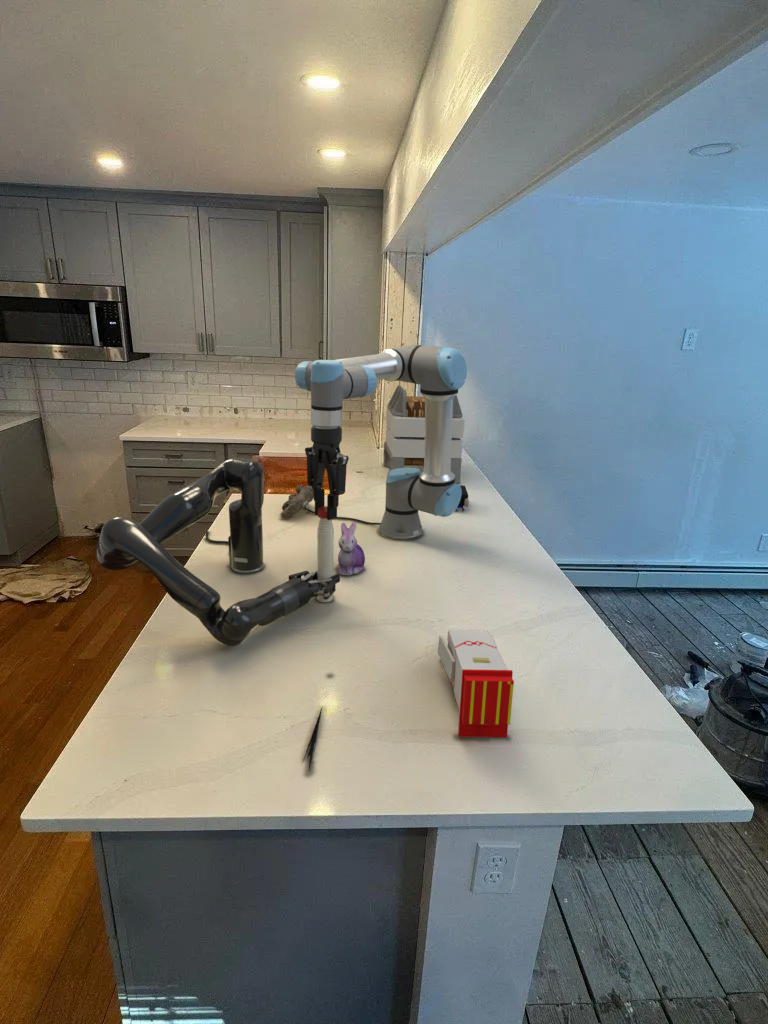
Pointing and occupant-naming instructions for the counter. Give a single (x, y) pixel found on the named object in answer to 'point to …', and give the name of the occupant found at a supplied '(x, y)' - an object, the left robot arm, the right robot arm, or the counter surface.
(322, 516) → the cap
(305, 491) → the fossil
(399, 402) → the white slatted crate
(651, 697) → the counter surface
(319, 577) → the bottle
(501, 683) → the toy
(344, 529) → the figurine
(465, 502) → the figurine character
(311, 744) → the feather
